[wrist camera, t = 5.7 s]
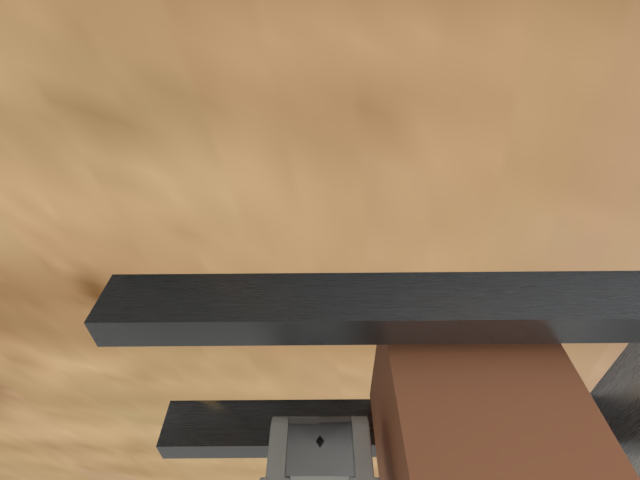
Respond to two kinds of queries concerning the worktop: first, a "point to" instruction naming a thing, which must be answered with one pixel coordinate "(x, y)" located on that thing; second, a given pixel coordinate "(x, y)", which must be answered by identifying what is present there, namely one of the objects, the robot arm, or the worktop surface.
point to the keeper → (488, 415)
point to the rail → (365, 334)
